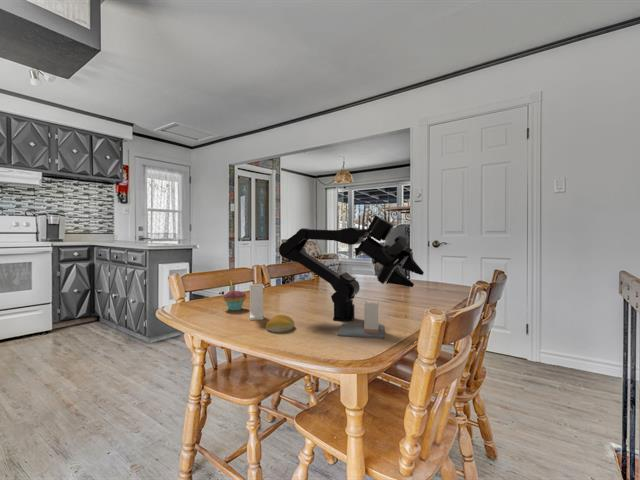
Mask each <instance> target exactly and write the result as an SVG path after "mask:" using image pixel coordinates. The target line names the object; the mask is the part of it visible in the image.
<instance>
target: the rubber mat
mask: <svg viewBox="0 0 640 480" xmlns="http://www.w3.org/2000/svg"><path fill="white" fill-rule="evenodd" d="M384 334H385V332H384V325H378V333H367V332H364V324H357V323H353V324H352V323H341V325H340V327H339V330H338V332H337V336H339V337H354V338H368V339H369V338H370V339H371V338H372V339H373V338H374V339H384V337H385V335H384Z"/></svg>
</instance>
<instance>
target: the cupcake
mask: <svg viewBox="0 0 640 480" xmlns="http://www.w3.org/2000/svg"><path fill="white" fill-rule="evenodd" d="M229 284H230V290H229V291H228V292H227V293H225V294H224V296H223V300H224V302H225V304H226V306H227V309H228V310H229V311H240V310H242V308H243V304H244V302H245V301H246V300H247V295H246V293H245V292H243V291H240V290H234V287H233V281H232V279H231V278H229Z"/></svg>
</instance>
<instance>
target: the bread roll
mask: <svg viewBox="0 0 640 480" xmlns="http://www.w3.org/2000/svg"><path fill="white" fill-rule="evenodd" d="M294 327H295V321H294V320H293V318H292V317H290V316H289V315H286V314H278V315H275V316H273V317H272V318H271V319H270V320H269V321H267V323H266V325H265V328H266V330H267V331H269V332H273V333H284V332H285V333H286V332H290V331H291V330H292V331H293V329H294Z"/></svg>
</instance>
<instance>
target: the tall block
mask: <svg viewBox="0 0 640 480" xmlns="http://www.w3.org/2000/svg"><path fill="white" fill-rule="evenodd" d="M379 304H380V303H379V301H365V302H364V305H363V306H364V307H363V308H364V309H363V311H364V317H363V318H364V322H363V323H364V324H363V325H364V332H367V333H378V326H379Z"/></svg>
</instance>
